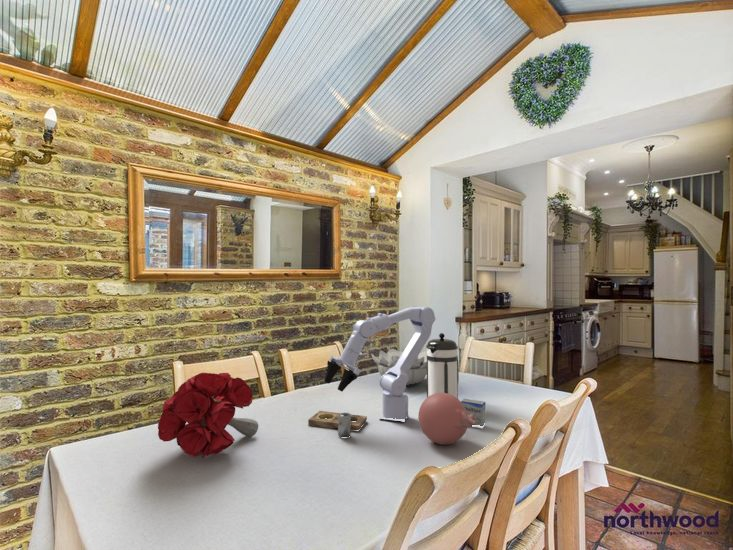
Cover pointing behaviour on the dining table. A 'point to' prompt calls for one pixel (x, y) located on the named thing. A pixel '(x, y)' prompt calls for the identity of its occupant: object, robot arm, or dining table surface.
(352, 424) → the jig plate
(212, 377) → the bouquet
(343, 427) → the bushing
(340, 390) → the robot arm
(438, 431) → the balloon
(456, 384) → the coffee press
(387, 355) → the decorative bowl
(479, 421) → the medicine box
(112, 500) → the dining table surface
